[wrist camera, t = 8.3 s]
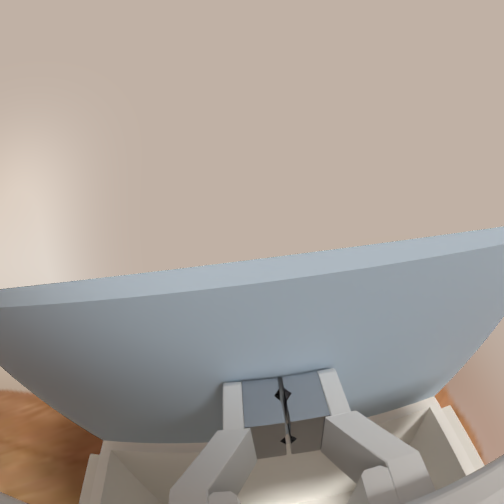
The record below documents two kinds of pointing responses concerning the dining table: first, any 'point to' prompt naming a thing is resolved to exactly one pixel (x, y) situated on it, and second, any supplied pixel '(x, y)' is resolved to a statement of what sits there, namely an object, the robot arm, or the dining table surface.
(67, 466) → the dining table surface
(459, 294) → the lid flap
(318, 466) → the carton
